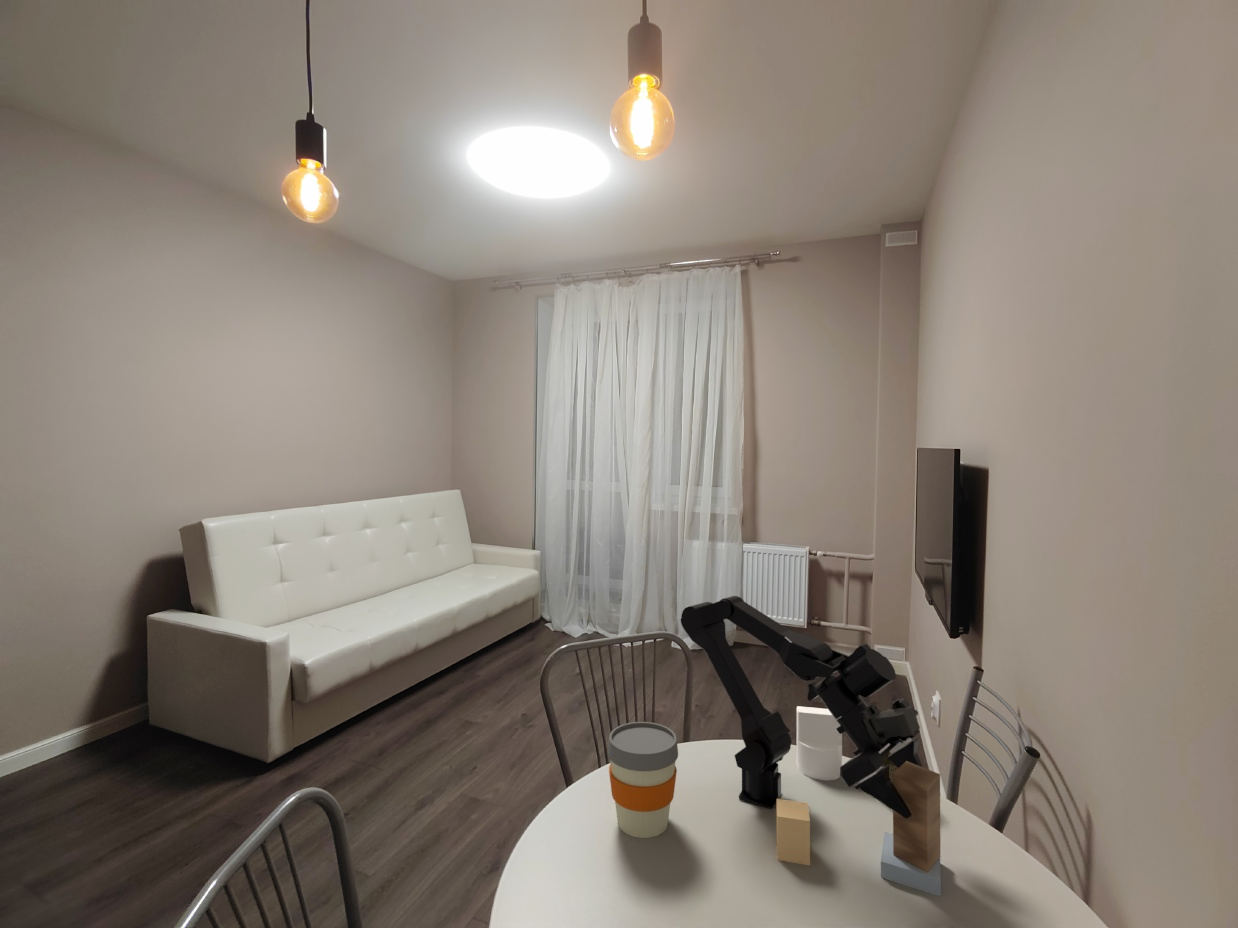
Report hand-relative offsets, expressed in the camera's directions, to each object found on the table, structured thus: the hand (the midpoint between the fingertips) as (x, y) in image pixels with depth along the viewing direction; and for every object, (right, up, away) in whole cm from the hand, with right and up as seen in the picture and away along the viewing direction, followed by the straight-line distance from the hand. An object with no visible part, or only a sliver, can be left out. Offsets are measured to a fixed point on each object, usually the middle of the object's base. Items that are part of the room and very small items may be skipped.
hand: (920, 804), depth 88 cm
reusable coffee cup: (-42, -11, +13) cm, 46 cm away
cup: (+5, -11, +21) cm, 24 cm away
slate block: (-1, -11, +1) cm, 11 cm away
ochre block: (-18, -11, +5) cm, 22 cm away
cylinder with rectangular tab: (-5, -11, +31) cm, 33 cm away
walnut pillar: (0, -8, 0) cm, 8 cm away
